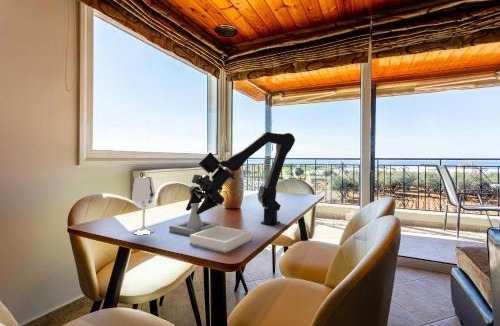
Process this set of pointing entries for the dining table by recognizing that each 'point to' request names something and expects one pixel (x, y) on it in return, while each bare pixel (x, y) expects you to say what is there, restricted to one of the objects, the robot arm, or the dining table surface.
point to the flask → (194, 218)
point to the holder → (183, 229)
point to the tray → (220, 238)
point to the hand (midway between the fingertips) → (191, 211)
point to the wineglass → (143, 199)
